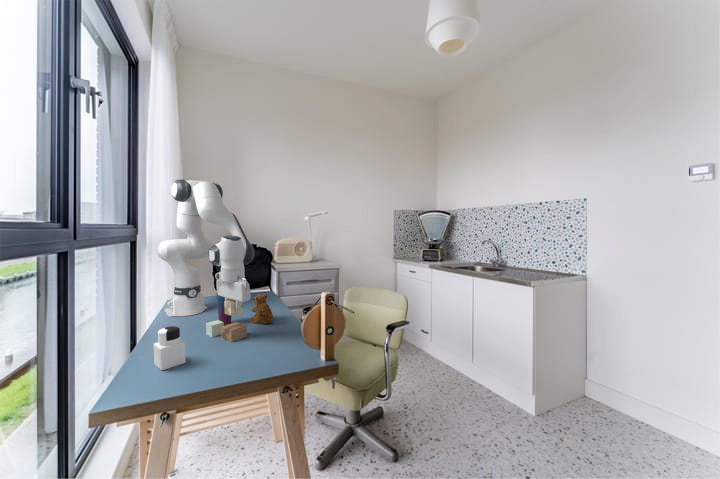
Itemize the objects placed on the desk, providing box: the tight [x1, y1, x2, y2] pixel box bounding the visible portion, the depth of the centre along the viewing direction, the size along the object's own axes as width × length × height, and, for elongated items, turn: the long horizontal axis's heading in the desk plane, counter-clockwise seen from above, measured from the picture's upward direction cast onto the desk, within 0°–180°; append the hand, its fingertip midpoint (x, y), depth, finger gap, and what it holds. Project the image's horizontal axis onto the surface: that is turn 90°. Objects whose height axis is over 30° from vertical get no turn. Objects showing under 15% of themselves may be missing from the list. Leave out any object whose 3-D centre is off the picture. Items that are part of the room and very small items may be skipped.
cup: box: [215, 292, 233, 326], centre depth 136 cm, size 7×7×15 cm
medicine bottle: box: [153, 325, 187, 371], centre depth 97 cm, size 7×7×12 cm
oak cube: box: [224, 299, 244, 317], centre depth 119 cm, size 5×5×5 cm
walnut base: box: [220, 321, 248, 343], centre depth 120 cm, size 7×7×5 cm
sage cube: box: [205, 319, 224, 338], centre depth 124 cm, size 5×5×5 cm
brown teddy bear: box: [249, 293, 274, 325], centre depth 139 cm, size 10×14×13 cm
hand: (233, 309), depth 119 cm, fingers closed on oak cube, 5 cm apart
